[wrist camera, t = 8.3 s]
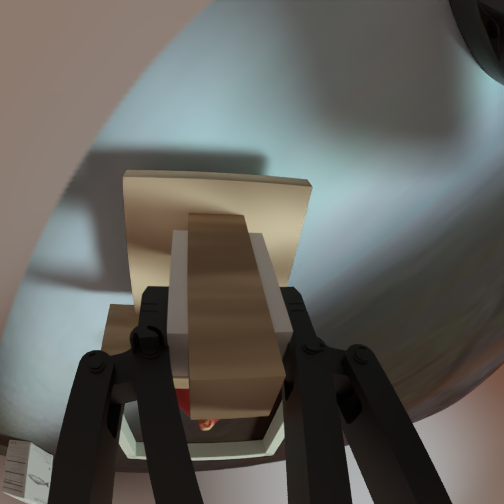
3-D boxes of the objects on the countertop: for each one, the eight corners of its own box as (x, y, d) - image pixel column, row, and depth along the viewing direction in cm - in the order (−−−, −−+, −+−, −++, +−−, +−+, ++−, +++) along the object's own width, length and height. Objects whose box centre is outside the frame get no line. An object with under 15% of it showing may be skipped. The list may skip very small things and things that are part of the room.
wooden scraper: (91, 170, 16) (2, 326, 7) (338, 182, 18) (444, 320, 10) (112, 315, 22) (94, 457, 13) (297, 316, 25) (339, 446, 16)
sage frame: (98, 384, 31) (96, 404, 29) (301, 383, 35) (306, 401, 33) (128, 444, 42) (127, 458, 40) (270, 441, 46) (272, 455, 44)
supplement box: (54, 455, 46) (50, 509, 36) (30, 452, 46) (25, 503, 36) (31, 441, 41) (24, 499, 31) (8, 438, 41) (0, 492, 31)
